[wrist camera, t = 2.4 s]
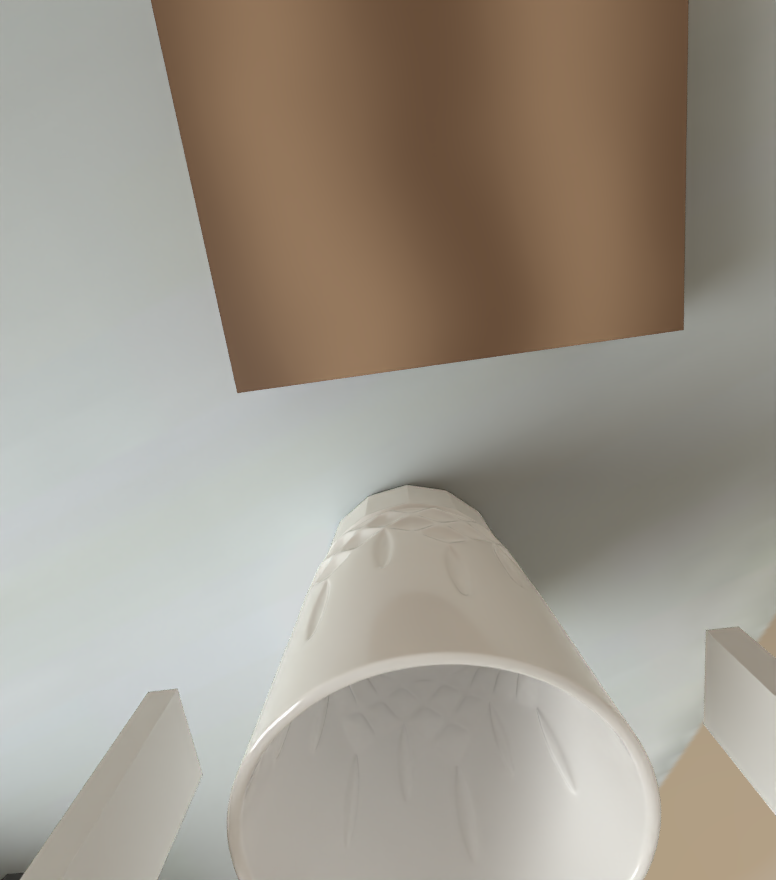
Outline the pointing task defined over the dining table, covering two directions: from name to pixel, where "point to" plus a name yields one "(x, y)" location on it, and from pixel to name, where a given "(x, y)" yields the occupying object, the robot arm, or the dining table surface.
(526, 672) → the white cup
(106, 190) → the dining table surface
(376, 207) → the walnut plinth
